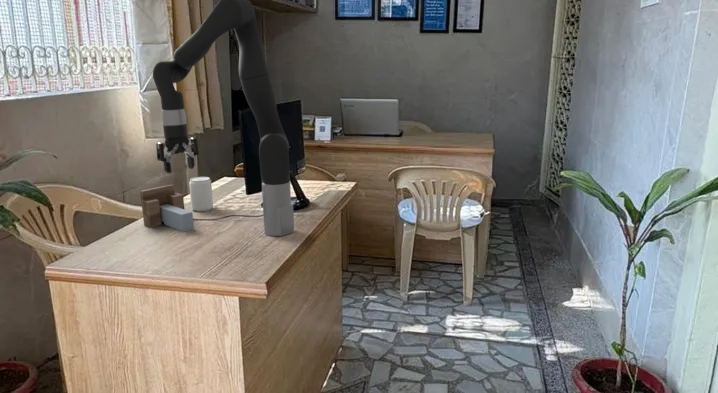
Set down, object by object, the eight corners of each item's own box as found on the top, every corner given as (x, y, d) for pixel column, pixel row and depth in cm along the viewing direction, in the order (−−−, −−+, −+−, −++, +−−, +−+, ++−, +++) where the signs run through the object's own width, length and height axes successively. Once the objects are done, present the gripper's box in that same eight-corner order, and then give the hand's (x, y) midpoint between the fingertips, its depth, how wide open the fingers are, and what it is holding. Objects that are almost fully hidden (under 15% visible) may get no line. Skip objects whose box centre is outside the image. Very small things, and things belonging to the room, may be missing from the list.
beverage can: (209, 211, 201) (207, 181, 198) (188, 212, 202) (185, 181, 198) (215, 206, 209) (213, 176, 206) (195, 206, 209) (192, 176, 206)
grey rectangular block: (193, 228, 182) (192, 212, 180) (183, 231, 179) (181, 214, 178) (169, 220, 192) (167, 204, 191) (158, 222, 189) (157, 206, 188)
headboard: (185, 218, 193) (182, 186, 190) (150, 227, 183) (146, 193, 180) (176, 215, 197) (173, 184, 194) (141, 224, 187) (138, 191, 184)
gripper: (187, 120, 184) (192, 165, 188) (148, 124, 174) (155, 173, 178) (199, 121, 180) (204, 168, 184) (161, 126, 169) (167, 175, 173)
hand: (180, 170), depth 181 cm, fingers open, 8 cm apart
